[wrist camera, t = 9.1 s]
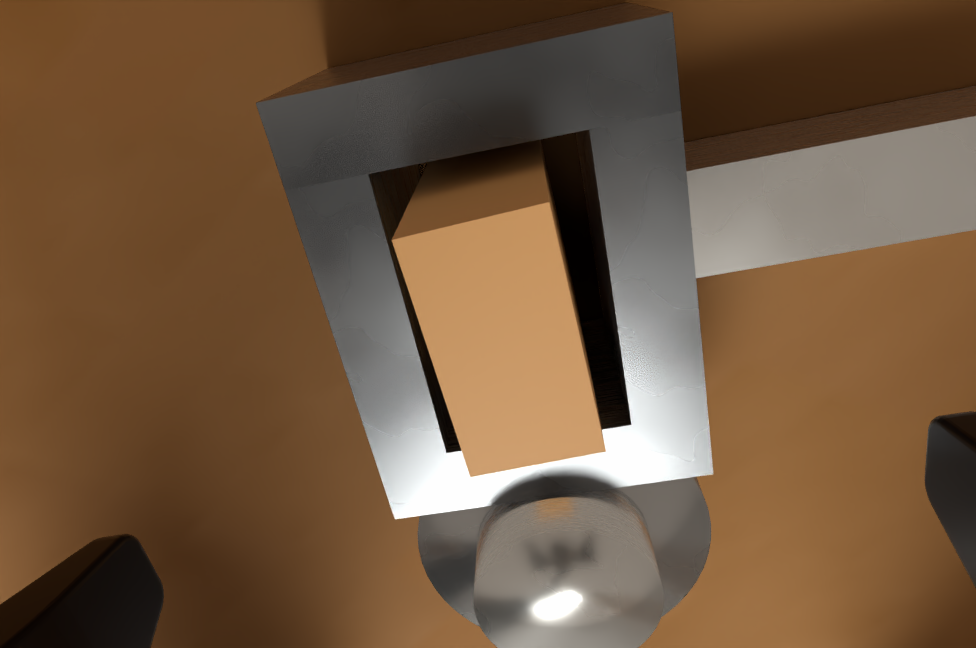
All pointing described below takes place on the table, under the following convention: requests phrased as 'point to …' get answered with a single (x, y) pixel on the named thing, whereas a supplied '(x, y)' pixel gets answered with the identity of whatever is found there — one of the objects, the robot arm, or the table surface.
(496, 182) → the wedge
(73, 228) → the table surface
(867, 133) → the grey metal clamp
